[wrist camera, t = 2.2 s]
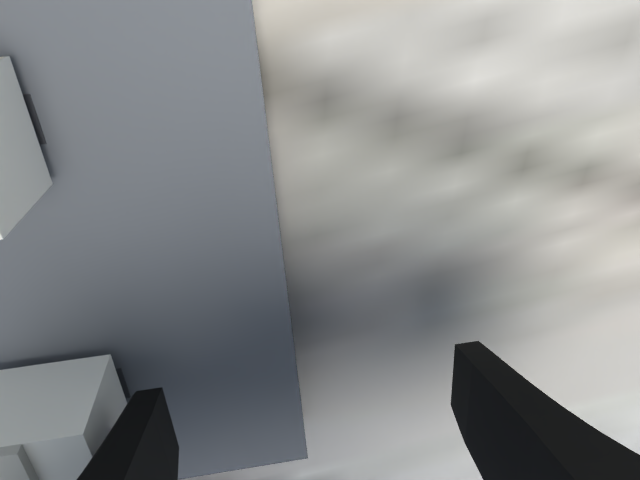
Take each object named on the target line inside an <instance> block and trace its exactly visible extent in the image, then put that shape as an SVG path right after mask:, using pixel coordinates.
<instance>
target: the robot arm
mask: <svg viewBox="0 0 640 480" xmlns="http://www.w3.org/2000/svg"><path fill="white" fill-rule="evenodd" d="M451 407H452V409H453V412H454V415H455V418H456V421H457V423H458V426H459V429H460V431H461V434H462V437H463V439H464V442H465V444H466V446H467V448H468V450H469V452H470V454H471V456H472V458H473V460H474V462H475V464H476V466H477V468H478V470H479V472H480V474H481V476H482V478H483V480H640V455H639V454H637V453H635V452H633V451H632V450H630V449H628V448H627V447H625V446H623V445H621V444H620V443H618V442H616V441H615V440H613V439H611V438H610V437H608V436H606V435H605V434H603V433H601V432H600V431H598V430H597V429H595V428H594V427H592V426H590V425H589V424H587V423H586V422H584V421H583V420H581V419H580V418H579V417H577V416H576V415H574V414H573V413H571V412H570V411H568V410H567V409H565V408H564V407H562V406H561V405H560V404H558V403H557V402H556V401H554V400H553V399H551V398H550V397H549V396H547V395H546V394H545V393H543V392H542V391H541V390H539V389H538V388H537V387H535V386H534V385H533V384H531V383H530V382H529V381H528V380H526V379H525V378H524V377H523V376H521V375H520V374H519V373H518V372H516V371H515V370H514V369H513V368H511V367H510V366H509V365H508V364H506V363H505V362H504V361H503V360H501V359H500V358H499V357H498V356H496V355H495V354H494V353H493V352H492V351H490V350H489V349H488V348H487V347H485V346H484V345H483V344H482V343H480V342H479V341H476V342H469V343H462V344H455V352H454V367H453V381H452V396H451ZM178 464H179V445H178V441H177V438H176V434H175V431H174V427H173V423H172V420H171V416H170V413H169V409H168V406H167V402H166V399H165V395H164V392H163V388H162V387H160V388H153V389H146V390H140V391H136V392H135V393H134V394H133V395H132V397H131V399H130V400H129V402H128V403H127V405H126V407H125V408H124V410H123V411H122V413H121V415H120V416H119V418H118V419H117V421H116V423H115V424H114V426H113V427H112V429H111V430H110V432H109V433H108V435H107V436H106V438H105V440H104V441H103V443H102V444H101V445H100V447H99V448H98V450H97V451H96V453H95V454H94V456H93V457H92V459H91V460H90V462H89V463H88V464H87V466H86V467H85V469H84V470H83V472H82V473H81V474H80V476H79V477H78V478H77V480H178Z"/></svg>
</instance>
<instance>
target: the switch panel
mask: <svg viewBox="0 0 640 480" xmlns="http://www.w3.org/2000/svg"><path fill="white" fill-rule="evenodd" d="M5 56H10V59H11V62H12V65H13V68H14V71H15V74H16V77H17V80H18V83H19V86H20V89H21V92H22V95H23V98H24V101H25V104H26V107H27V110H28V112H29V115H30V118H31V121H32V124H33V127H34V130H35V133H36V136H37V139H38V142H39V145H40V148H41V151H42V154H43V157H44V160H45V163H46V166H47V168H48V171H49V174H50V177H51V180H52V183H53V184H52V185H51V186H50V187H49V189H48V190H47V191H46V192H45V193H44V194H43V195H42V196H41V197H40V199H39V200H38V201H37V202H36V203H35V204H34V205H33V206H32V207H31V209H30V210H29V211H28V212H27V213H26V214H25V215H24V216H23V218H22V219H21V220H20V221H19V222H18V223H17V224H16V225H15V226H14V228H13V229H12V230H11V231H10V232H9V233H8V234H7V235H6V236H5V238H4V239H1V240H0V370H4V369H11V368H18V367H25V366H32V365H39V364H46V363H53V362H60V361H67V360H74V359H81V358H88V357H95V356H102V355H109V354H111V357H112V360H113V363H114V366H115V369H116V372H117V375H118V378H119V381H120V384H121V387H122V390H123V393H124V395H125V398H126V401H127V403H128V402H129V400H130V399H131V397H132V395H133V394H134V393H135V392H136V391H140V390H146V389H153V388H160V387H162V388H163V392H164V395H165V399H166V402H167V406H168V409H169V413H170V416H171V420H172V423H173V427H174V431H175V434H176V438H177V441H178V445H179V464H178V479H185V478H191V477H197V476H203V475H209V474H215V473H221V472H227V471H233V470H239V469H245V468H251V467H257V466H264V465H270V464H276V463H282V462H288V461H294V460H300V459H306V458H308V455H307V447H306V439H305V431H304V422H303V414H302V406H301V398H300V390H299V382H298V374H297V365H296V357H295V349H294V341H293V333H292V325H291V317H290V308H289V300H288V292H287V284H286V276H285V268H284V260H283V252H282V243H281V235H280V227H279V219H278V211H277V203H276V195H275V186H274V178H273V170H272V162H271V154H270V146H269V138H268V129H267V121H266V113H265V105H264V97H263V89H262V81H261V73H260V64H259V56H258V48H257V40H256V32H255V24H254V16H253V7H252V0H0V57H5Z"/></svg>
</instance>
